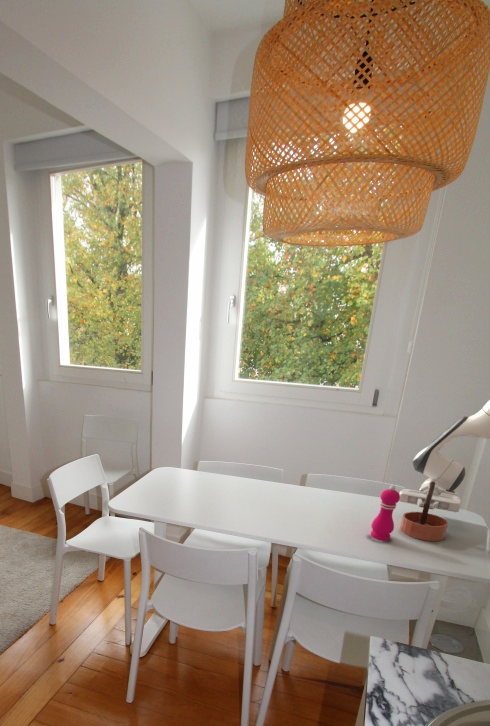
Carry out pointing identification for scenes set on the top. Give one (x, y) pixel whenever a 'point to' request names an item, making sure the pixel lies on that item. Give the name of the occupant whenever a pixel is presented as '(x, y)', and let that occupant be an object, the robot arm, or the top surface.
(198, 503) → the top surface
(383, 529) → the pepper mill
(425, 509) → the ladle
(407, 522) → the bowl
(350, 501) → the top surface
